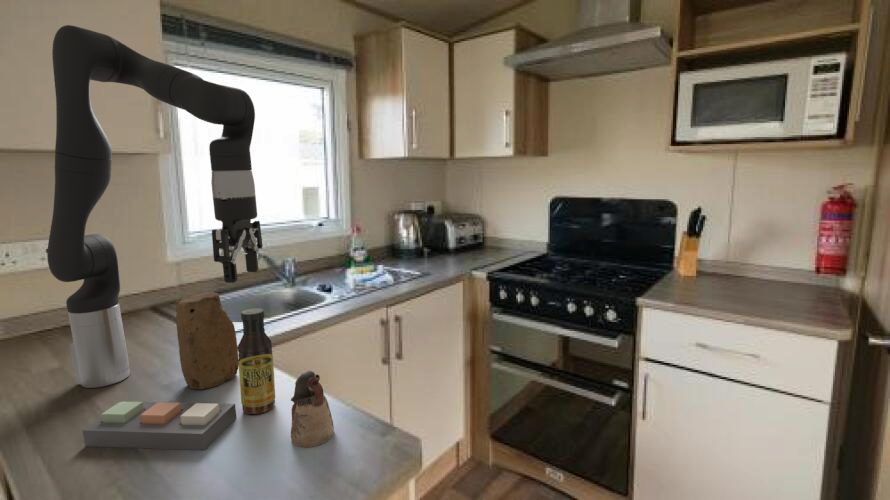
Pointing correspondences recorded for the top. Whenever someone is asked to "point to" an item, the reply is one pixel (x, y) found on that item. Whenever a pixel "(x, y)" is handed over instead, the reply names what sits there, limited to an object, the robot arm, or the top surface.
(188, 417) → the cream button
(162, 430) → the button panel
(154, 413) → the terracotta button
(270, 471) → the top surface
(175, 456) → the top surface
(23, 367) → the top surface
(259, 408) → the sauce bottle
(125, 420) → the sage button
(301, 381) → the figurine
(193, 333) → the brown sandstone rock
